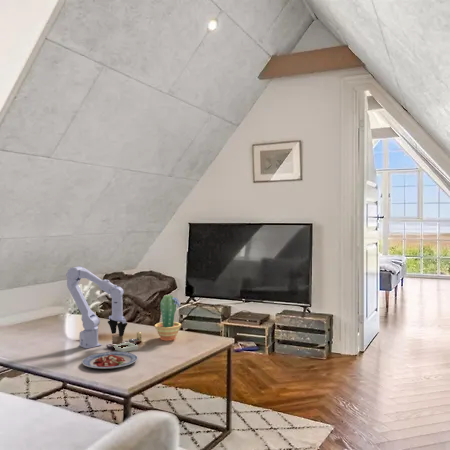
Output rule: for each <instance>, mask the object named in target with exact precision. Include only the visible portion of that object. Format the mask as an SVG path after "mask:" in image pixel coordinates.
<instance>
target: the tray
mask: <svg viewBox="0 0 450 450" xmlns="http://www.w3.org/2000/svg"><path fill="white" fill-rule="evenodd" d="M121 345H128V346H126V347H123V348H121V347H118V346H121ZM113 347H114V348H115V350H114V351H115V352H127V353H131V352H133V351H139V345H138V344H136V345H135V344H133V343H130V342H128V341H126V342H123V343H122V344H117V345H113V346H112V348H113Z"/></svg>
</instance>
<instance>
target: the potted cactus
mask: <svg viewBox="0 0 450 450" xmlns="http://www.w3.org/2000/svg"><path fill="white" fill-rule="evenodd" d="M180 304H181V303H180V301H179V299H178V298H177V297H174V296H173V295H172V294H169V295H168V294H166V295H164V296H163V297H162V299H161V301H160V311H161V313H162V314H161V315H162V316H161V317H162V319H161V320H162V322H157V323H156V324H154V328H155V330H156V331H157V334H158V336H159V337H160V338H159V339H160V340H162V341H166V342H167V341H174V340H176V339H177V338H176V336H177V335H178V334H179V331H180V328H181V327H182V324H181V323H180V322H178V321H175V313H176V311H177V309H178V308H179V307H180Z"/></svg>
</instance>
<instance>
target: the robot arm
mask: <svg viewBox="0 0 450 450" xmlns="http://www.w3.org/2000/svg"><path fill="white" fill-rule="evenodd" d="M65 276H66V286H67V288H68V291H69V293H70V294H71V296H72V298H73V301H74V302H75V304H76V306H77V308H78V311H79V312H80V314H81V318H80V319H81V321H82V327H83V329H84V330H81V331H80V332H79V344H78V346H79V347H80V348H84V349H91V348H95V347H101V346H102V344H101V343H99V325H100V323H101V320H100V317H98V315H96V313H95V312H94V311H93V310H92V309H91V308H90V305H89V303H88V302H87V300H86V298H85V296H84V294H83V292H82V290H81V288H80V286H79V284H80V280H81V279H87V280H88V281H90V282H92V283H94V284H96V285H98V288H99V289H100V290H101V291H103V292H105V293H107V294H108V295H110V298H111V315H108V320H107V323H108V325H109V328H110V331H111V334H113V335H115V334H117V330H118V334H119V336H124V335H125V330H126V327H127V326H128V322H127V319H126V318H125V316H124V313H123V312H124V310H123V308H124V307H123V304H124V302H123V295H124V293H125V292H124V289H123V287H122V286H118V285H117V284H114V283H112V282H111V281H110V280H109V279H101V278H100V277H98V276H97V275H96V274H94V273H93V272H91V271H90V270H89V269H88V268H85V267H84V266H81V265H77V266H74V267H70V268H69V269H68V270H67V273H66V275H65Z"/></svg>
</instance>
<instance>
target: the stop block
mask: <svg viewBox="0 0 450 450" xmlns="http://www.w3.org/2000/svg"><path fill="white" fill-rule="evenodd" d="M123 336H124V335H123ZM123 336H119V333H118V334H117V333H115V334H113V335H111V337H112V338H111V341H112V342H111V343H112V344H120V343H124V342H123V341H124V340H123V339H124V338H123Z"/></svg>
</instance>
